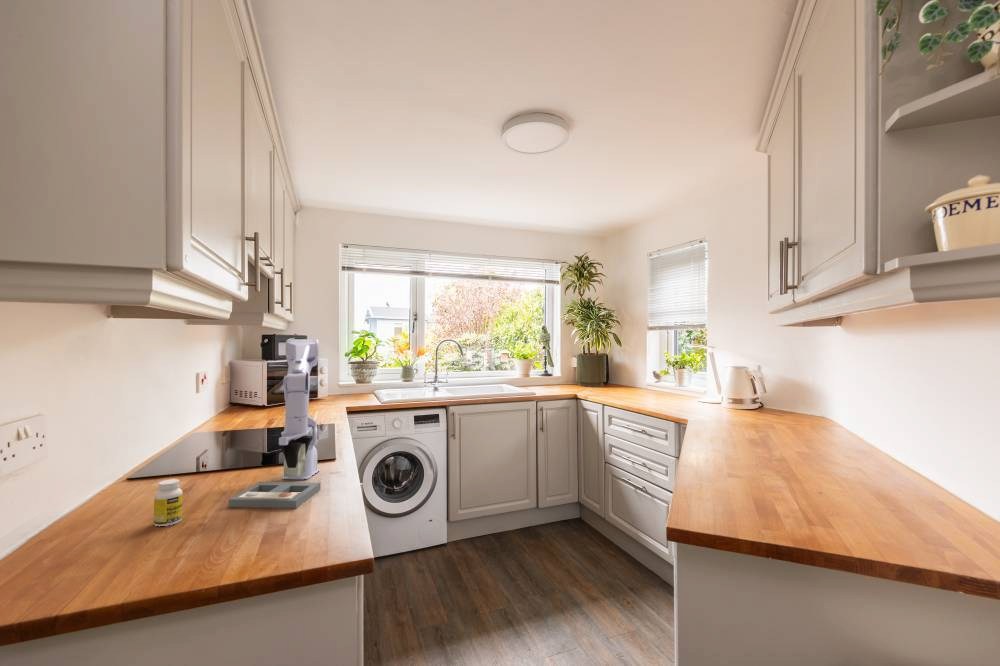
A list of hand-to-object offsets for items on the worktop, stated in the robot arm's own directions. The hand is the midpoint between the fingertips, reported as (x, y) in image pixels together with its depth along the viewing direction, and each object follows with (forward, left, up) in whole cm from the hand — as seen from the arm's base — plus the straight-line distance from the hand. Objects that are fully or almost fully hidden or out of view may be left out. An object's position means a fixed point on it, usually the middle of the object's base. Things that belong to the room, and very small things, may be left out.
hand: (296, 465), depth 122 cm
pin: (0, 0, -2) cm, 3 cm away
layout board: (+1, -5, -9) cm, 10 cm away
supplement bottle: (+18, -22, -9) cm, 30 cm away
